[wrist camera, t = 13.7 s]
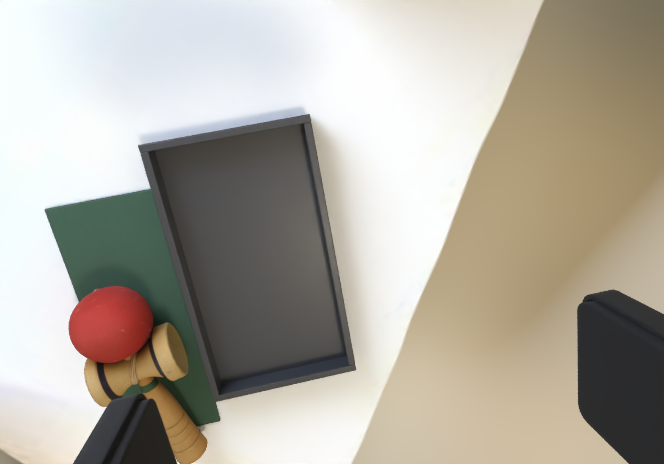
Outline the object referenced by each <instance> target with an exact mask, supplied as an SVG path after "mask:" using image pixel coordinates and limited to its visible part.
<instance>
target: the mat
mask: <svg viewBox="0 0 664 464" xmlns="http://www.w3.org/2000/svg"><path fill="white" fill-rule="evenodd" d="M45 212H46V215H47V218H48V220H49V223H50V226H51V228H52V231H53V234H54V236H55V239H56V242H57V244H58V247H59V250H60V252H61V255H62V258H63V260H64V263H65V266H66V268H67V271H68V274H69V276H70V279H71V282H72V284H73V287H74V290H75V292H76V295H77V298H78V301H79V302H80V301H81V300H82V299H83V298H84V297H86V296H87V295H89V294H90V293H92V292H94V291H95V289H101V288H105V287H110V286H122V287H127V288H130V289H132V290H134V291H136V292H138V293H139V294H140V295H142V296H143V297H144V298H145V299H146V301H147V302H148V304H149V306H150V308H151V310H152V314H153V327H152V328H154V327H156V326H158V325H161V324H164V323H170V324H171V325H173V326H174V328H175V329H176V331H177V332H178V334H179V336H180V338H181V340H182V343H183V346H184V348H185V351H186V355H187V359H188V373H187V375H185V376H183V377H181V378H179V379H177V380H175V381H171V380H169V379H166V378H164V377H157V378H158V380H159V381H160V382H161V383H162V384H163V385H164V386H165V387H166V388H167V389H168V390H169V391H170V393H171V394H172V395H173V396H174V397H175V399H176V400H177V401H178V402H179V404H180V405H181V407H182V408H183V410H184V411H185V412H186V413H187V415H188V416H189V417H190V419H191V420H192V421H193V423H194V424H195V425H196V426H200V425H205V424H209V423H213V422H218V421H220V416H219V413H218V410H217V406H216V403H215V402H214V399H213V396H212V393H211V389H210V386H209V383H208V379H207V376H206V372H205V369H204V366H203V362H202V359H201V356H200V352H199V349H198V346H197V342H196V339H195V335H194V332H193V329H192V325H191V322H190V319H189V315H188V312H187V309H186V305H185V302H184V298H183V295H182V292H181V288H180V285H179V282H178V278H177V275H176V272H175V268H174V265H173V261H172V258H171V255H170V251H169V248H168V245H167V241H166V238H165V235H164V231H163V228H162V224H161V221H160V218H159V214H158V211H157V208H156V204H155V201H154V198H153V194H152V191H151V189H149V190H144V191H138V192H133V193H128V194H123V195H117V196H112V197H107V198H101V199H96V200H91V201H86V202H80V203H75V204H70V205H64V206H59V207H54V208H48V209H45ZM140 393H141V394H143V393H142V391H141V389H140V386H139V384H135V385H133V384H132V385H131V386H130V387H129V388H128V389H127V390H126V391H125V393H124V395H123V396H122V397H127V396H131V395H136V394H140Z"/></svg>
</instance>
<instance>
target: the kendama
mask: <svg viewBox="0 0 664 464" xmlns="http://www.w3.org/2000/svg"><path fill="white" fill-rule="evenodd" d="M152 327H153V314H152V310H151V308H150V306H149V304H148V302H147V301H146V299H145V298H144V297H143V296H142V295H140V294H139V293H138V292H136V291H134V290H132V289H130V288H127V287H122V286H110V287H105V288H101V289H95V291H94V292H92V293H90V294H89V295H87V296H86V297H84V298H83V299H82V300H81V301H80V302H79V303H78V304H77V306H76V307H75V308H74V310H73V312H72V314H71V316H70V321H69V335H70V339H71V341H72V344H73V345H74V347H75V348H76V350H77V351H78V352H79V353H80V354H82V355H83V356H85V357H86V358H88V359H87V360H86V363H85V368H84V375H85V381H86V385H87V388H88V390H89V392H90V394H91V396H92V398H93V399H94V400H95V402H96V403H97V404H99V405H100V406H103V407H107V406H108V404H109V403H110V402H111V401H112V400H114V399H118V398H122V396H123V395H124V393H125V391H126V390H127V389H128V388H129V387H130V386H131V385H132V384H133V385H135V384H139V386H140V389H141V391H142V393H143V394H144V395H145V396H146V398H147V399H151V398H152V399H154V400H155V402H156V404H157V406H158V409H159V412H160V415H161V418H162V421H163V424H164V427H165V430H166V433H167V436H168V439H169V441H170V444H171V447H172V450H173V453H174V455H175V457H176V459H177V461H178V462H179V463H180V464H191V463H193V462H195V461H196V460H198V459H199V458H200V457H201V456H202V455H203V453H204V451H205V450H206V447H207V439H206V438H205V436H204V435H203V434H202V433H201V431H200V430H199V429H198V428H197V426H196V425H195V424H194V423H193V421H192V420H191V419H190V417H189V416H188V415H187V413H186V412H185V411H184V410H183V408H182V407H181V405H180V404H179V402H178V401H177V400H176V399H175V397H174V396H173V395H172V394H171V393H170V391H169V390H168V389H167V388H166V387H165V386H164V385H163V384H162V383H161V382H160V381H159V380H158V378H157V377H164V378H166V379H169V380H171V381H175V380H177V379H179V378H181V377H183V376H185V375H187V373H188V359H187V355H186V351H185V348H184V346H183V343H182V340H181V338H180V336H179V334H178V332H177V331H176V329H175V328H174V326H173V325H171V324H170V323H164V324H161V325H158V326H156V327H154V328H152Z"/></svg>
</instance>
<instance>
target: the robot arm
mask: <svg viewBox="0 0 664 464" xmlns="http://www.w3.org/2000/svg"><path fill="white" fill-rule="evenodd" d="M577 319H578V323H577V324H578V405H579V409H580V412H581V414H582V416H583V418H584V419H585V420H586V422H587V423H588V424H589V425H590V426H591V427H592V428H593V429H594V430H595V431H596V432H597V433H598V434H599V435H600V436H601V437H602V438H604V440H605V441H606V442H607V443H608V444H609V445H610V446H612V447H613V448H614V449H615V450H616V451H617V452H618V453H619V454H620V455H621V456H622V457H623V458H624V459H625V460H626V461H627V462H628V463H629V464H664V314H662V313H660V312H658V311H656V310H654V309H652V308H650V307H648V306H646V305H644V304H642V303H641V302H639V301H636V300H635V299H632V298H631V297H629V296H627V295H625V294H623V293H621V292H619V291H616V290H608V291H603V292H599V293H594V294H590V295H587V296H585V297H584V299H583V303H581V304H579V306H578V310H577ZM73 464H177V462H176V459H175V456H174V453H173V450H172V447H171V444H170V441H169V439H168V436H167V433H166V430H165V427H164V424H163V421H162V418H161V415H160V412H159V409H158V406H157V404H156V402H155V400H154V399H152V398H151V399H147V398H146V396H145V395H144V394H141V393H140V394H136V395H131V396H127V397H122V398H118V399H114V400H112V401H111V402H110V403H109V404H108V406H107V408H106V409H105V411H104V413H103V414H102V416H101V418H100V419H99V421H98V423H97V424H96V426H95V428H94V430H93V431H92V433H91V435H90V436H89V438H88V440H87V441H86V443H85V445H84V446H83V448H82V450H81V451H80V453H79V455H78V456H77V458H76V460H75V461H74V463H73Z"/></svg>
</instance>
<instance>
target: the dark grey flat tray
mask: <svg viewBox="0 0 664 464" xmlns="http://www.w3.org/2000/svg"><path fill="white" fill-rule="evenodd" d="M138 147H139V151H140V153H141V157H142V161H143V164H144V167H145V171H146V174H147V177H148V181H149V184H150V187H151V191H152V194H153V198H154V201H155V204H156V208H157V211H158V214H159V218H160V221H161V224H162V228H163V231H164V235H165V238H166V241H167V245H168V248H169V251H170V255H171V258H172V261H173V265H174V268H175V272H176V275H177V278H178V282H179V285H180V288H181V292H182V295H183V298H184V302H185V305H186V309H187V312H188V315H189V319H190V322H191V325H192V329H193V332H194V335H195V339H196V342H197V346H198V349H199V352H200V356H201V359H202V362H203V366H204V369H205V372H206V376H207V379H208V383H209V386H210V389H211V393H212V396H213V399H214V402H217V401H222V400H226V399H230V398H235V397H239V396H244V395H248V394H252V393H257V392H261V391H266V390H270V389H275V388H279V387H283V386H288V385H292V384H297V383H301V382H305V381H310V380H314V379H319V378H323V377H327V376H332V375H336V374H341V373H345V372H350V371H354V370H356V366H355V361H354V355H353V350H352V344H351V339H350V333H349V328H348V322H347V317H346V311H345V306H344V300H343V295H342V289H341V284H340V278H339V273H338V267H337V262H336V256H335V251H334V245H333V240H332V234H331V229H330V223H329V218H328V212H327V207H326V201H325V196H324V190H323V185H322V179H321V174H320V168H319V163H318V157H317V152H316V146H315V141H314V135H313V130H312V124H311V119H310V114H308V115H302V116H297V117H291V118H285V119H280V120H274V121H269V122H263V123H258V124H252V125H247V126H241V127H236V128H230V129H225V130H219V131H214V132H208V133H203V134H197V135H192V136H186V137H181V138H175V139H170V140H164V141H159V142H153V143H147V144H142V145H138Z"/></svg>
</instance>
